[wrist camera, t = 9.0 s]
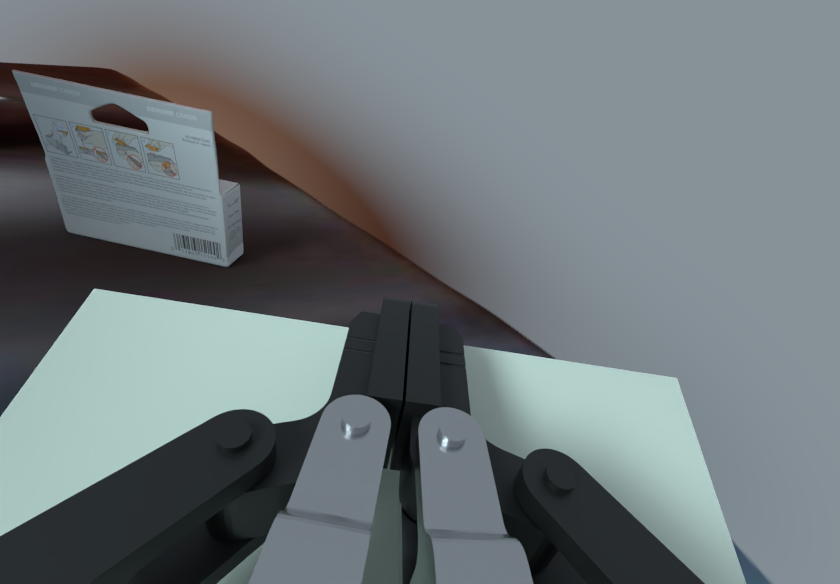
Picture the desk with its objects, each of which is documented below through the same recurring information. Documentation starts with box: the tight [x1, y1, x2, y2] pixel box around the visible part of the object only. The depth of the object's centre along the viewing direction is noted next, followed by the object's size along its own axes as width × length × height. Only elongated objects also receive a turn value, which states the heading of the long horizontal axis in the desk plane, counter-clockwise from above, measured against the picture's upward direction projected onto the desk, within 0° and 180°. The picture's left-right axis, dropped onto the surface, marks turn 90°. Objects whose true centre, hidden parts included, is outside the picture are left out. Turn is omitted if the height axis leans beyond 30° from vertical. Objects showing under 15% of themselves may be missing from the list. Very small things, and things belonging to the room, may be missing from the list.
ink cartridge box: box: [12, 70, 243, 267], centre depth 25 cm, size 2×11×10 cm, turn 83°
